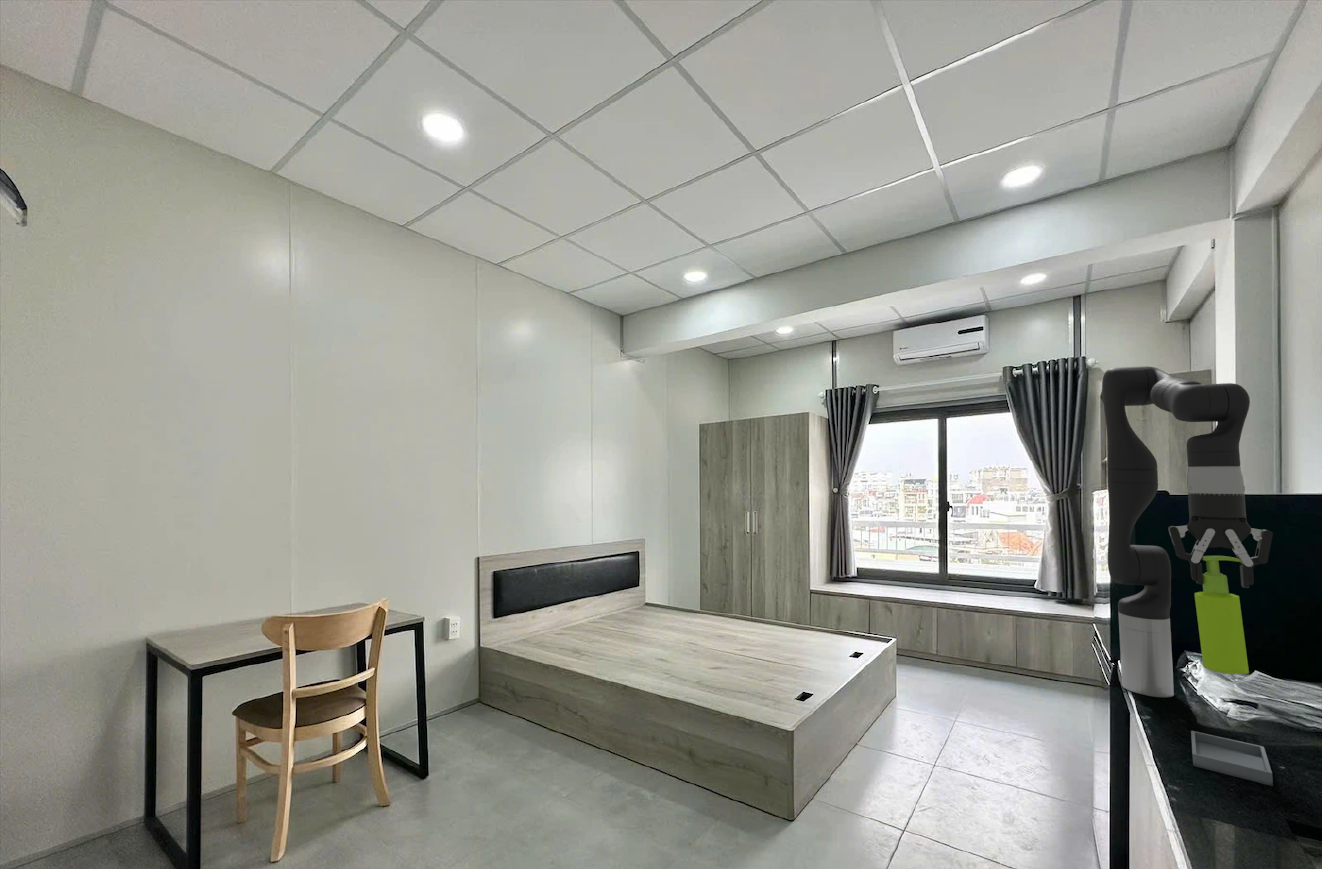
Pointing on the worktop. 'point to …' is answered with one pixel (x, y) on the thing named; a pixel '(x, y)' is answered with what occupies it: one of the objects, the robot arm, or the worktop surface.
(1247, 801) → the worktop surface
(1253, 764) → the tray
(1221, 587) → the soap dispenser
